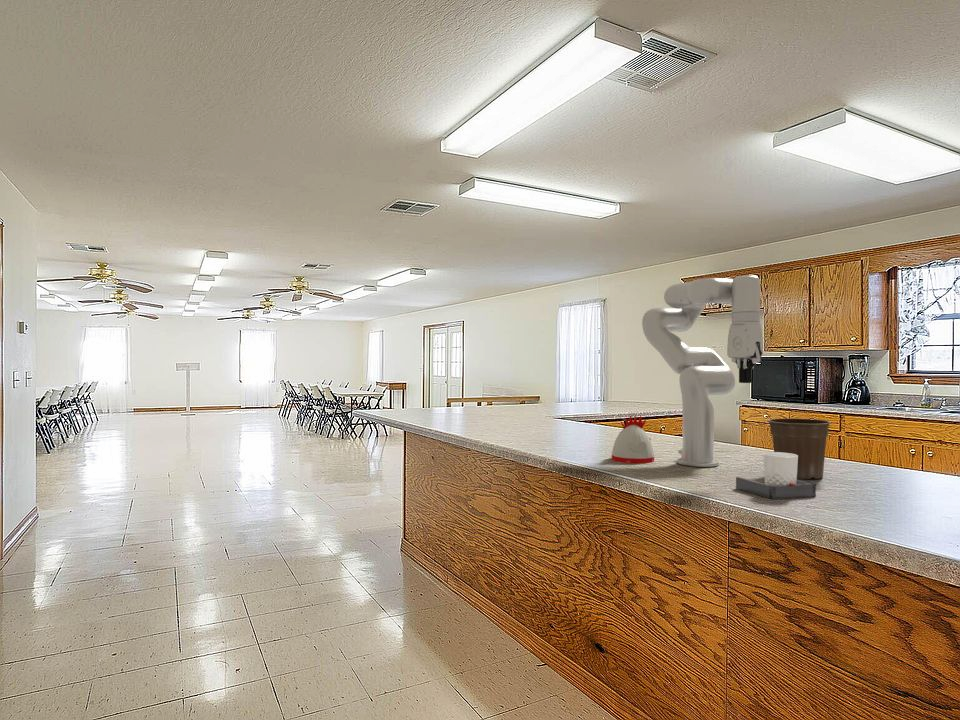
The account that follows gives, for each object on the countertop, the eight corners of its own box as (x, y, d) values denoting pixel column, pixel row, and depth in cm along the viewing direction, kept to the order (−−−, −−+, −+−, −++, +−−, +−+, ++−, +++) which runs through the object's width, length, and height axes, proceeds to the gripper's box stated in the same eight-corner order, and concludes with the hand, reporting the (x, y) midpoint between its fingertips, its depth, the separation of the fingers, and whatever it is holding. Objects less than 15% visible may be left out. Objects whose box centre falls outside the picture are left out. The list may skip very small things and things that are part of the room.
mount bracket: (735, 488, 162) (736, 475, 162) (776, 485, 166) (777, 473, 166) (772, 499, 150) (772, 485, 150) (816, 496, 154) (816, 482, 154)
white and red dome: (659, 463, 201) (659, 417, 201) (616, 463, 201) (616, 417, 201) (648, 457, 215) (648, 413, 215) (608, 456, 215) (608, 413, 215)
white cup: (778, 498, 151) (778, 457, 151) (756, 491, 159) (756, 452, 159) (805, 496, 154) (805, 456, 154) (781, 489, 161) (782, 451, 161)
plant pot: (766, 478, 177) (766, 421, 177) (769, 469, 191) (769, 416, 191) (831, 483, 169) (831, 424, 169) (829, 473, 184) (829, 419, 184)
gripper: (717, 320, 185) (717, 382, 185) (753, 317, 170) (752, 384, 170) (739, 320, 187) (738, 381, 187) (775, 317, 172) (775, 383, 173)
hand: (745, 382), depth 179 cm, fingers closed
